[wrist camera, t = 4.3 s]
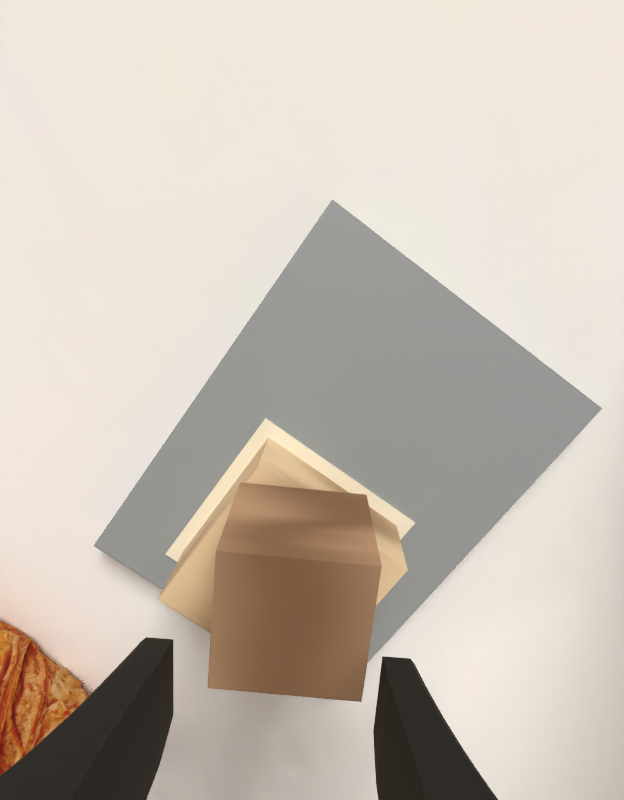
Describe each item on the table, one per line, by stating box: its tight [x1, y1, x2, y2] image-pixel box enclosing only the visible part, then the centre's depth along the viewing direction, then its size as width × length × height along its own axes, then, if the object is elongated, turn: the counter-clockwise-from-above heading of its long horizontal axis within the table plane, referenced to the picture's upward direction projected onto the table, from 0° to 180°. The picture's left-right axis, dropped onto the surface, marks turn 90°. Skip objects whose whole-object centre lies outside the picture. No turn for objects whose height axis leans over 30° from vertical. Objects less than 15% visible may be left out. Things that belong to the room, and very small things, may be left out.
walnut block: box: [208, 482, 382, 702], centre depth 15 cm, size 4×4×4 cm
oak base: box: [158, 437, 408, 633], centre depth 19 cm, size 6×6×3 cm
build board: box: [94, 200, 602, 663], centre depth 20 cm, size 12×16×1 cm
